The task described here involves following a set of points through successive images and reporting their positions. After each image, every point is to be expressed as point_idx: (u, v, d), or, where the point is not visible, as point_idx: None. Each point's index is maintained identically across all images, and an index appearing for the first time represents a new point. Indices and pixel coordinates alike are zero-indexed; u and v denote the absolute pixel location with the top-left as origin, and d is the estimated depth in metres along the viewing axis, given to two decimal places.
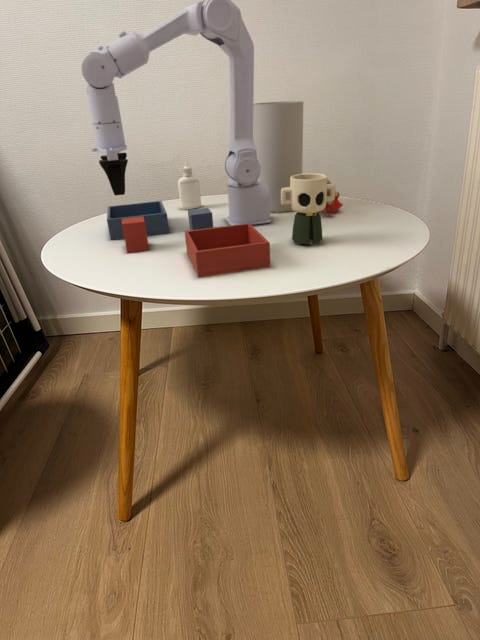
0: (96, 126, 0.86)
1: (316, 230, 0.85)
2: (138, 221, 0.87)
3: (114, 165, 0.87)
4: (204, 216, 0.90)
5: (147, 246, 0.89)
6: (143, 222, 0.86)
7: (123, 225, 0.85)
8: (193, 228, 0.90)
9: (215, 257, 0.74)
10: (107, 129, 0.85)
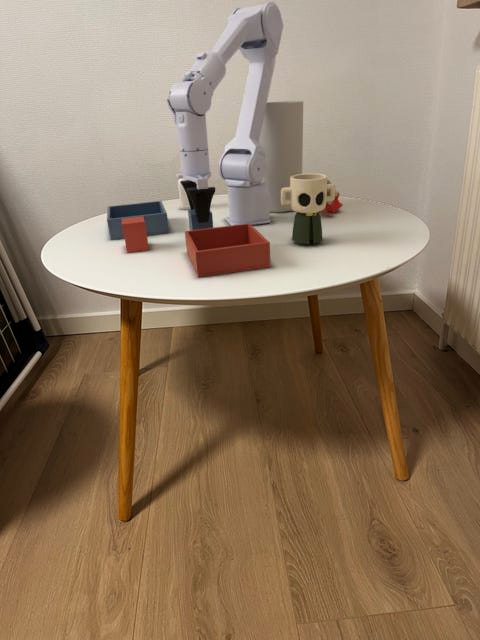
0: (184, 153, 0.84)
1: (316, 230, 0.85)
2: (138, 221, 0.87)
3: (201, 193, 0.85)
4: None
5: (147, 246, 0.89)
6: (143, 222, 0.86)
7: (123, 225, 0.85)
8: (193, 228, 0.90)
9: (215, 257, 0.74)
10: (196, 157, 0.83)
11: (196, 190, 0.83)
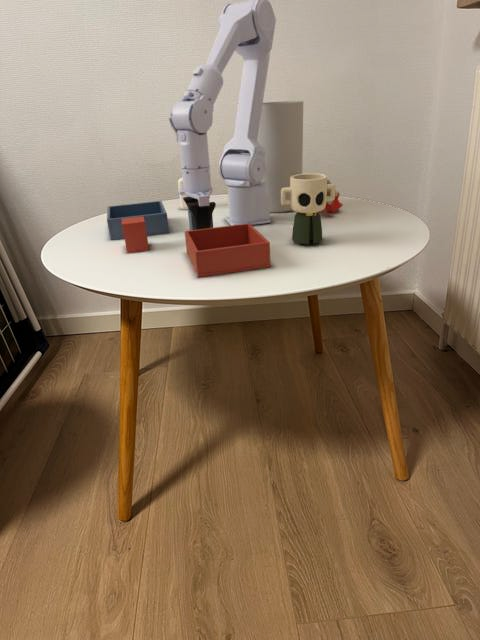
0: (186, 171, 0.85)
1: (316, 230, 0.85)
2: (138, 221, 0.87)
3: (201, 208, 0.88)
4: None
5: (147, 246, 0.89)
6: (143, 222, 0.86)
7: (123, 225, 0.85)
8: (193, 228, 0.90)
9: (215, 257, 0.74)
10: (197, 174, 0.85)
11: (197, 205, 0.86)
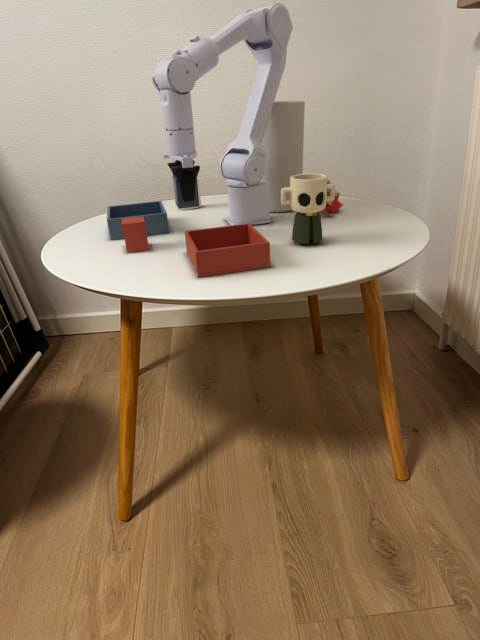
0: (169, 132, 0.83)
1: (316, 230, 0.85)
2: (138, 221, 0.87)
3: (185, 171, 0.86)
4: None
5: (147, 246, 0.89)
6: (143, 222, 0.86)
7: (123, 225, 0.85)
8: (177, 193, 0.88)
9: (215, 257, 0.74)
10: (181, 135, 0.83)
11: (181, 168, 0.84)
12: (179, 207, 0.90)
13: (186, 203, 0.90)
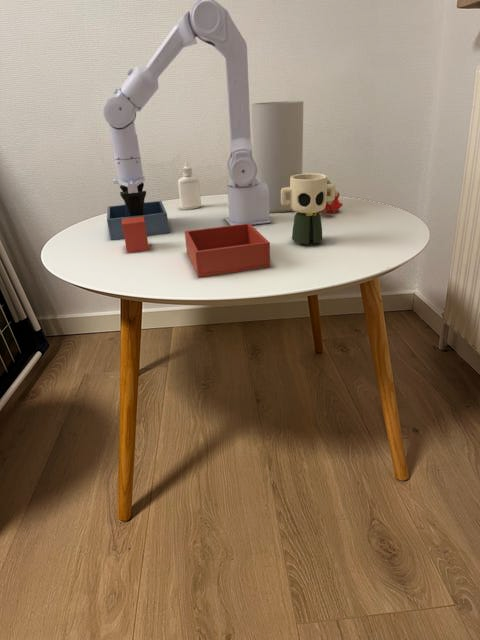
0: (117, 161, 0.94)
1: (316, 230, 0.85)
2: (138, 221, 0.87)
3: (133, 196, 0.96)
4: None
5: (147, 246, 0.89)
6: (143, 222, 0.86)
7: (123, 225, 0.85)
8: (127, 216, 0.99)
9: (215, 257, 0.74)
10: (128, 164, 0.94)
11: (128, 194, 0.94)
12: None
13: None
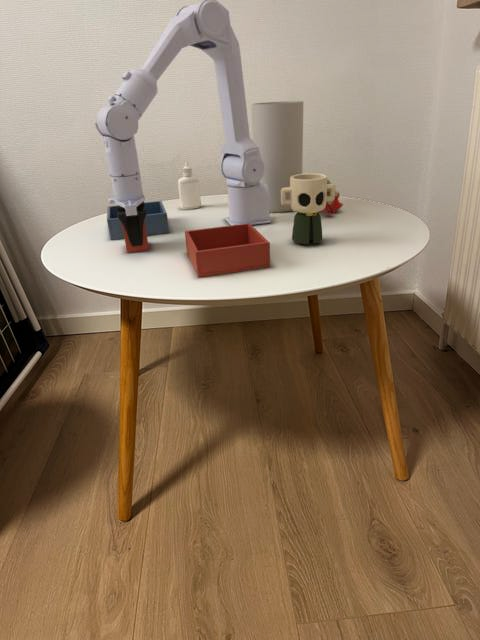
0: (114, 178, 0.82)
1: (316, 230, 0.85)
2: None
3: (132, 217, 0.84)
4: None
5: (147, 246, 0.89)
6: None
7: None
8: None
9: (215, 257, 0.74)
10: (125, 182, 0.81)
11: (125, 215, 0.82)
12: None
13: None
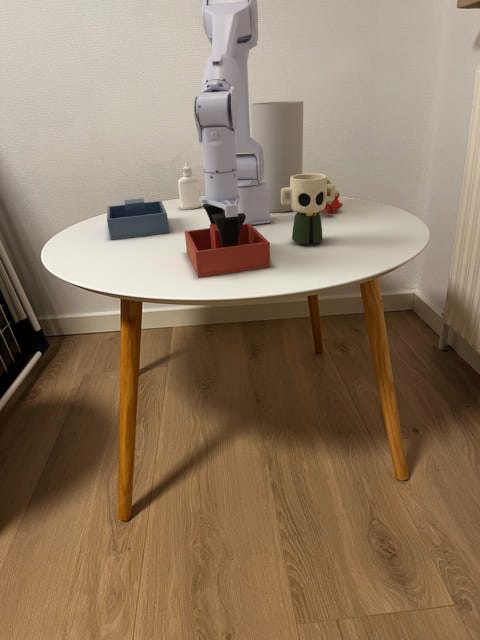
0: (210, 175, 0.72)
1: (316, 230, 0.85)
2: None
3: (228, 220, 0.74)
4: (137, 205, 0.99)
5: None
6: None
7: (215, 232, 0.76)
8: (127, 216, 0.99)
9: (215, 257, 0.74)
10: (223, 179, 0.72)
11: (224, 218, 0.72)
12: None
13: None
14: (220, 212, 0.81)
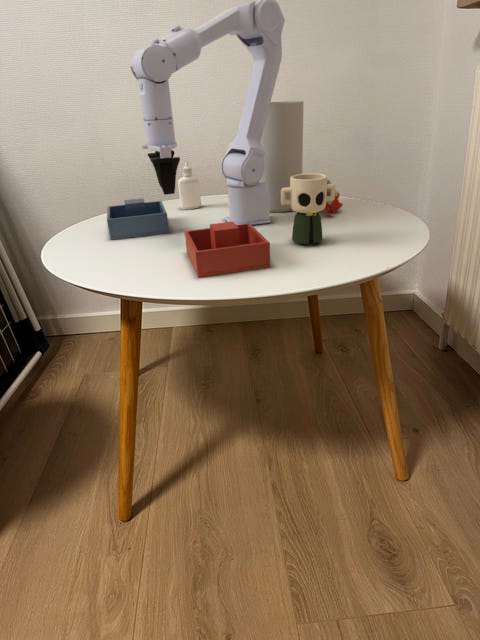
0: (148, 122, 0.82)
1: (316, 230, 0.85)
2: (231, 227, 0.77)
3: (165, 163, 0.84)
4: (137, 205, 0.99)
5: None
6: (237, 228, 0.77)
7: (215, 232, 0.76)
8: (127, 216, 0.99)
9: (215, 257, 0.74)
10: (159, 125, 0.82)
11: (160, 159, 0.82)
12: None
13: None
14: None
